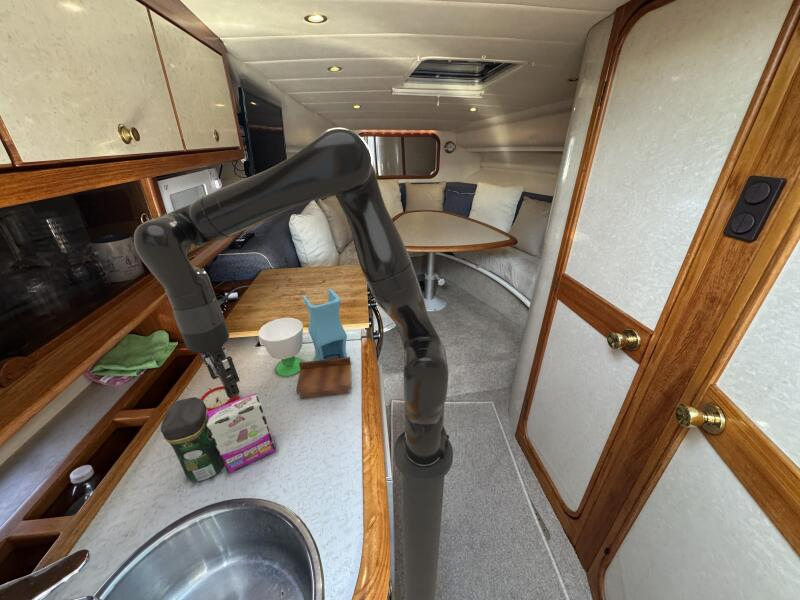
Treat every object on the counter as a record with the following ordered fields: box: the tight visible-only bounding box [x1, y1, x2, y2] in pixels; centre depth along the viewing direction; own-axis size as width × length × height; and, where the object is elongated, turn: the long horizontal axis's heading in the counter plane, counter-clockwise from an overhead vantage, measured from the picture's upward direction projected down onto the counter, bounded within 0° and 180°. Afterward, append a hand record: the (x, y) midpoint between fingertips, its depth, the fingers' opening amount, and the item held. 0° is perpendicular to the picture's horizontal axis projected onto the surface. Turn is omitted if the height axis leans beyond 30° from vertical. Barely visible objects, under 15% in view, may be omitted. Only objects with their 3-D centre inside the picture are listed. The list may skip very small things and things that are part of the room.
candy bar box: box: [206, 392, 277, 474], centre depth 74 cm, size 11×5×16 cm, turn 122°
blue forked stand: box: [301, 288, 348, 361], centre depth 104 cm, size 10×10×25 cm
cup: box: [258, 317, 304, 377], centre depth 104 cm, size 14×14×16 cm
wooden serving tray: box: [295, 356, 352, 399], centre depth 98 cm, size 16×10×6 cm, turn 98°
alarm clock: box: [200, 385, 241, 411], centre depth 90 cm, size 10×6×15 cm
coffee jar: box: [160, 396, 224, 483], centre depth 72 cm, size 10×8×19 cm
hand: (225, 385), depth 67 cm, fingers open, 8 cm apart
